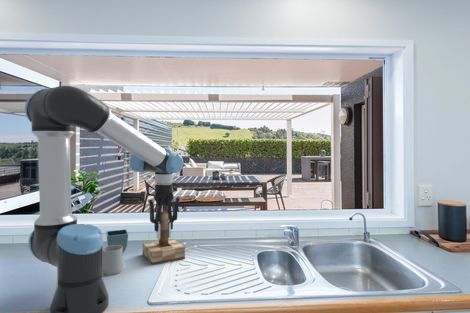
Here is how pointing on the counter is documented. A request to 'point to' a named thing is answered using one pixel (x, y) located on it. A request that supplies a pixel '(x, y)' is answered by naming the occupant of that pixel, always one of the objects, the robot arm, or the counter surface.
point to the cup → (112, 259)
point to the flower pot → (117, 238)
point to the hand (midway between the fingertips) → (163, 237)
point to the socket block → (163, 252)
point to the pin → (164, 228)
